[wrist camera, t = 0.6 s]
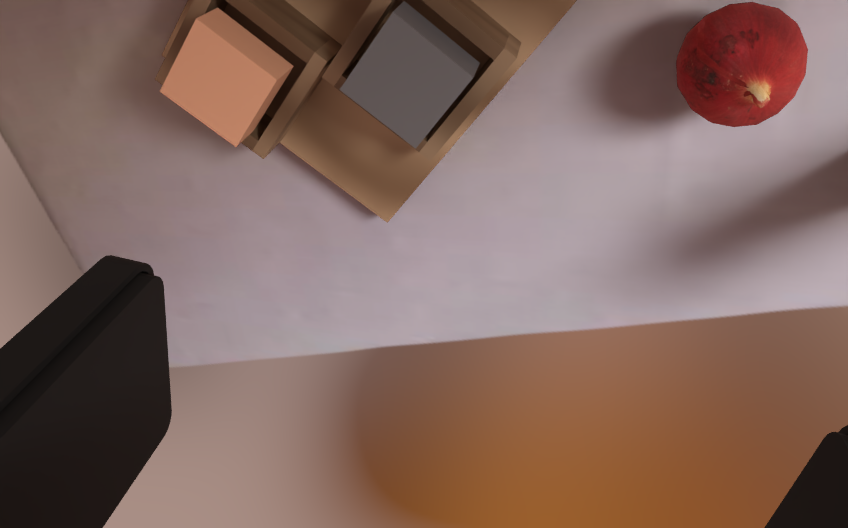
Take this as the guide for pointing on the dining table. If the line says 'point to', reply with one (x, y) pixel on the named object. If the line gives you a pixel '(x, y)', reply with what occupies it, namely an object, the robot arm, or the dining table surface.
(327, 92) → the wooden shape sorter board
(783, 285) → the dining table surface
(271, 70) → the terracotta key
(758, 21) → the pomegranate
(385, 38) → the charcoal key
